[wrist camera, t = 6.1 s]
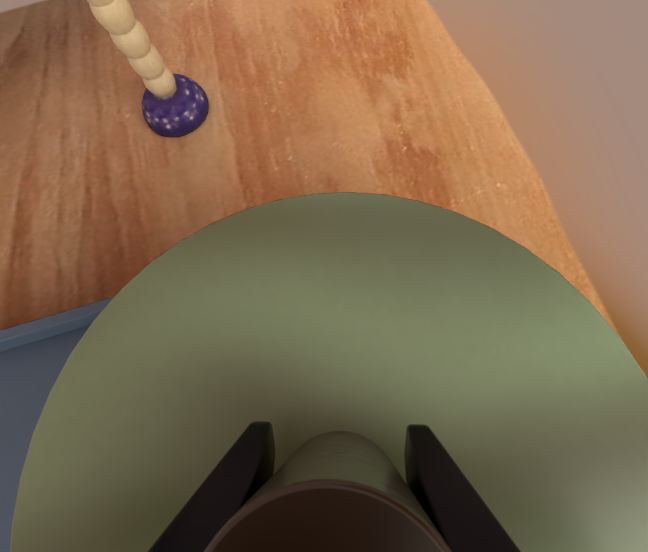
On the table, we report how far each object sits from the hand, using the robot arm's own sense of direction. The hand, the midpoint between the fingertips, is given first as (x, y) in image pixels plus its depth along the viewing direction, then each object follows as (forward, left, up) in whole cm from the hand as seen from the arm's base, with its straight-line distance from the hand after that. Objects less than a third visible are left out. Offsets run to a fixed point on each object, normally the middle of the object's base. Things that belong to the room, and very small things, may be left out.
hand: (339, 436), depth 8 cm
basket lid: (-1, 0, -2) cm, 2 cm away
